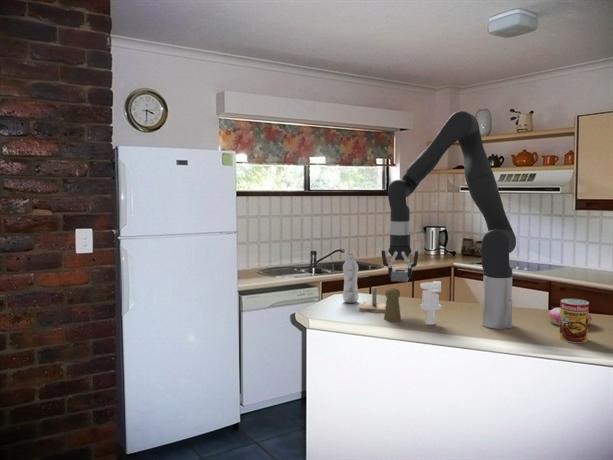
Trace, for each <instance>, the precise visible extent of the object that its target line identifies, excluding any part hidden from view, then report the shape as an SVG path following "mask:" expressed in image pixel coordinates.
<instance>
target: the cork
mask: <svg viewBox="0 0 613 460" xmlns="http://www.w3.org/2000/svg"><path fill="white" fill-rule="evenodd" d="M384 293H385V297H386V308H385V313H384V316H383V319H384V320H385V321H388V322H399V321H402V317H401V315H402V314H401V308H400V302H399V298H400V297H401V292H400V290H399V289H397V288H393V287H392V288H388V289H386V291H385V292H384Z"/></svg>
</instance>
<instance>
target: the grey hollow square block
mask: <svg viewBox="0 0 613 460" xmlns="http://www.w3.org/2000/svg"><path fill="white" fill-rule="evenodd" d="M409 279H410V278H408V269H402V268H401V269H399V268H395V269H394V268H392V271H391V278H390V281H391V282H404V283H405V282H407V283H408V281H409Z"/></svg>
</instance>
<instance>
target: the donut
mask: <svg viewBox="0 0 613 460" xmlns="http://www.w3.org/2000/svg"><path fill="white" fill-rule="evenodd" d="M547 314H548V315H547V316H548V317H547V318H548V320H549V322H551V324H553V325H556V326H559V327H560V306H559V307H554V308H552V309H551V310H550V311H549V312H548V313H547ZM592 318H593V317H592V314H591V313H588V325H590V324H591V322H592V320H593V319H592Z"/></svg>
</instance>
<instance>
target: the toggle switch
mask: <svg viewBox="0 0 613 460" xmlns="http://www.w3.org/2000/svg"><path fill="white" fill-rule="evenodd" d="M377 290H378V289H377V287H372V292H371V293H372V295H371V296H372V298H371V299H372V302H369V301H368V302H367V301H366V302H365V301H364V302H363V303H362V304H361V305H360V307H359V308H358V309H359V312H370V313H384V314H385V308H386V303H383V302H377V297H378V296H377V293H378V291H377Z"/></svg>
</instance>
